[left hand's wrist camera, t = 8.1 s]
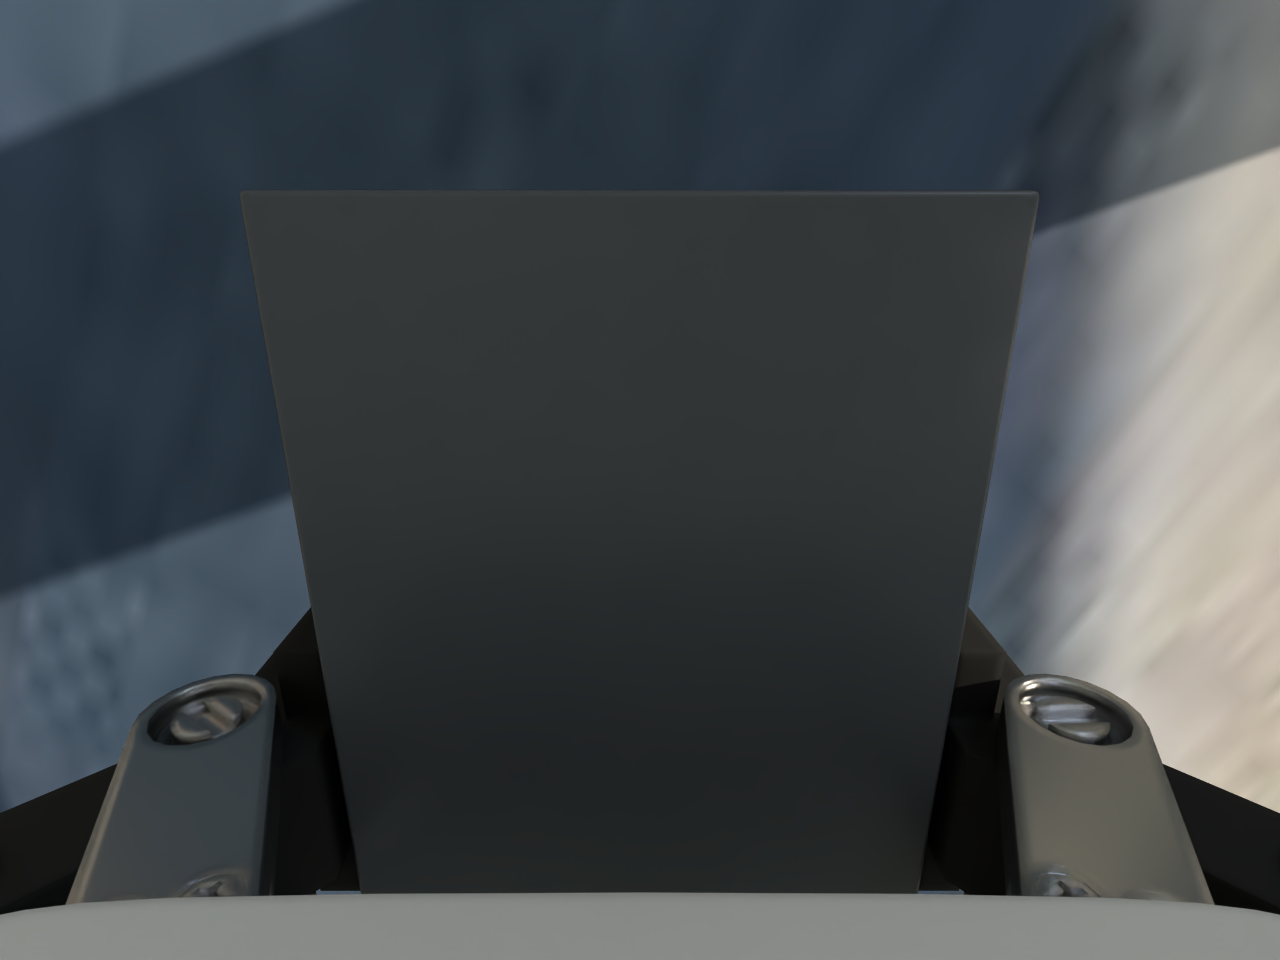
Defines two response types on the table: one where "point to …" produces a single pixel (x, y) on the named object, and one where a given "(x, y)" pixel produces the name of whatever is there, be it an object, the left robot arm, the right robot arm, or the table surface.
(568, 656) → the post
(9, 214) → the table surface
